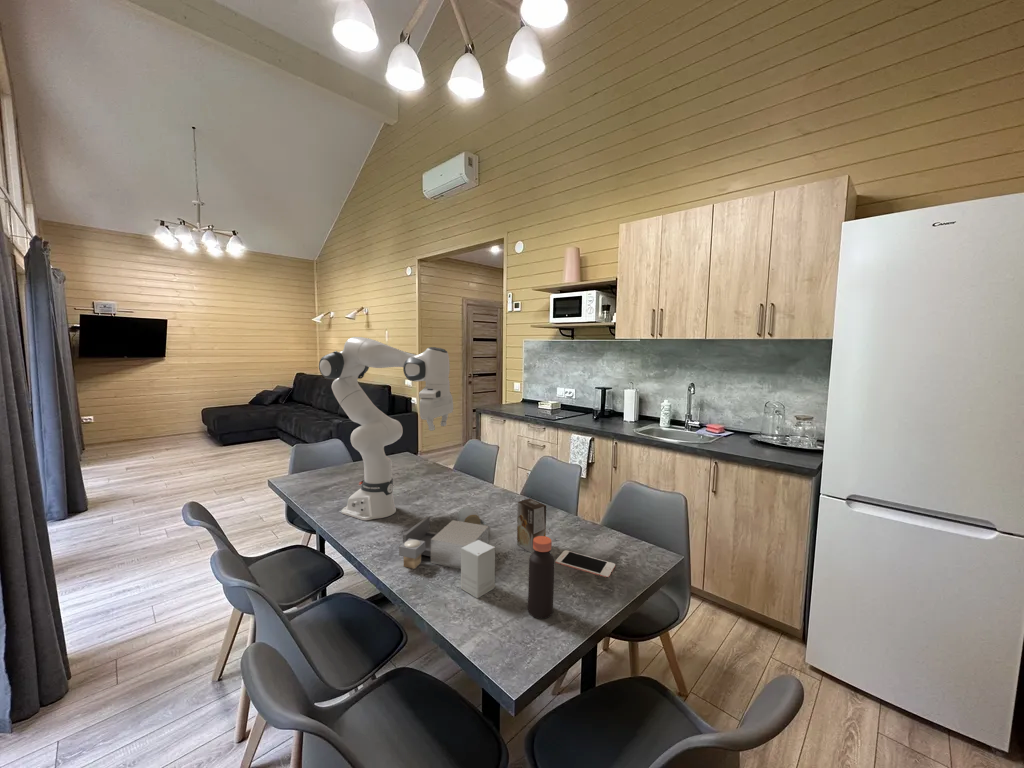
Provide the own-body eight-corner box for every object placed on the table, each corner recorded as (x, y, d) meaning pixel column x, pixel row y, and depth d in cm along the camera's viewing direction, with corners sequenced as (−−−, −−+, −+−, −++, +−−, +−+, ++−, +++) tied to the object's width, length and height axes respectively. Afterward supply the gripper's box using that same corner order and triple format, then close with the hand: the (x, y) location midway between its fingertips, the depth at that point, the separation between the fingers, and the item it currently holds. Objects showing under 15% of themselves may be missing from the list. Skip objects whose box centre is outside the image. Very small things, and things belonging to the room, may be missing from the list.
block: (403, 566, 133) (403, 554, 132) (410, 560, 136) (410, 548, 136) (414, 568, 131) (414, 556, 131) (421, 562, 135) (421, 550, 135)
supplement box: (495, 588, 122) (496, 547, 121) (477, 599, 116) (477, 556, 115) (478, 578, 127) (478, 538, 126) (459, 588, 121) (460, 547, 120)
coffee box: (546, 549, 146) (547, 505, 145) (533, 554, 142) (534, 509, 140) (528, 539, 153) (529, 497, 152) (515, 544, 149) (516, 501, 147)
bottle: (538, 622, 107) (540, 548, 105) (522, 609, 112) (524, 538, 110) (558, 613, 111) (560, 541, 109) (541, 600, 116) (543, 532, 114)
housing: (430, 562, 135) (430, 539, 134) (452, 541, 150) (452, 520, 150) (470, 570, 131) (470, 546, 130) (488, 547, 146) (488, 526, 145)
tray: (400, 555, 139) (400, 534, 138) (424, 535, 154) (424, 515, 153) (440, 563, 134) (440, 541, 133) (461, 542, 149) (461, 521, 149)
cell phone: (608, 579, 128) (608, 576, 128) (554, 563, 137) (554, 560, 137) (615, 566, 136) (615, 563, 136) (564, 552, 145) (564, 549, 145)
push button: (399, 555, 132) (399, 546, 131) (409, 547, 137) (409, 537, 137) (415, 558, 130) (415, 549, 129) (425, 550, 135) (425, 540, 135)
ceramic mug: (463, 534, 156) (463, 514, 155) (456, 525, 163) (457, 507, 163) (489, 530, 160) (490, 511, 160) (482, 522, 168) (482, 503, 167)
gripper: (442, 388, 164) (442, 422, 165) (416, 393, 144) (416, 432, 146) (457, 389, 162) (457, 423, 163) (432, 394, 143) (432, 433, 144)
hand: (437, 428), depth 154 cm, fingers open, 8 cm apart
